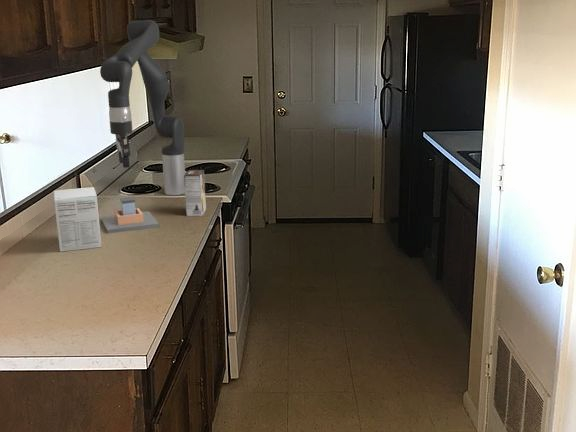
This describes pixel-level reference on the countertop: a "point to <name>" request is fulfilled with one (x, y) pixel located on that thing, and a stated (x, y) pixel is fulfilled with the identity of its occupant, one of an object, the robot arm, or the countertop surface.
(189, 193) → the coffee box
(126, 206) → the plug
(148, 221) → the socket dock
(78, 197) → the supplement box
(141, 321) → the countertop surface
